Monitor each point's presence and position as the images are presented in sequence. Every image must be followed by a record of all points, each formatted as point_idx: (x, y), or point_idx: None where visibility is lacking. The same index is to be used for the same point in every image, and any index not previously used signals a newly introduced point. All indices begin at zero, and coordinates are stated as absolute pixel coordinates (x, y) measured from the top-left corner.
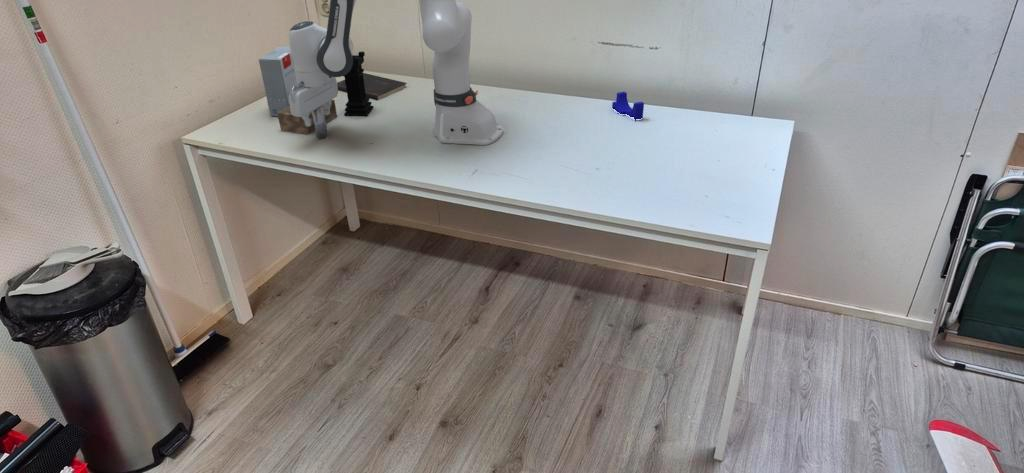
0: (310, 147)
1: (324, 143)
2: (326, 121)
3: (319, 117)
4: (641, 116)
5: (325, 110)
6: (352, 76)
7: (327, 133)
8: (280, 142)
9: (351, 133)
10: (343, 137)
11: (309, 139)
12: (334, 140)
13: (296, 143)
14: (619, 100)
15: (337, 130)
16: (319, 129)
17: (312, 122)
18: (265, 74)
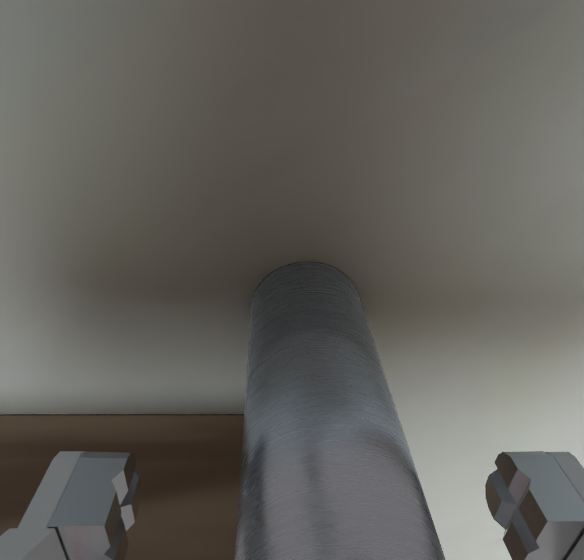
0: (553, 282)
1: (456, 209)
2: (29, 428)
3: (410, 484)
4: None
5: (112, 540)
6: None
7: (291, 281)
8: (463, 491)
9: (108, 42)
10: (258, 83)
11: (385, 370)
12: (365, 146)
13: (473, 410)
14: None
15: (118, 257)
16: (378, 359)
17: (219, 489)
18: None
